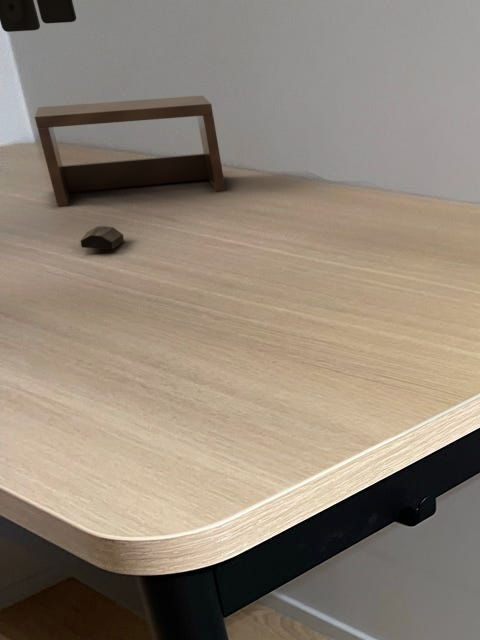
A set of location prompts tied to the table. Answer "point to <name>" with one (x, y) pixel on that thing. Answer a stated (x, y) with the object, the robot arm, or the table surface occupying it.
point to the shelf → (136, 169)
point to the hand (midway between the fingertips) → (41, 26)
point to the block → (102, 238)
